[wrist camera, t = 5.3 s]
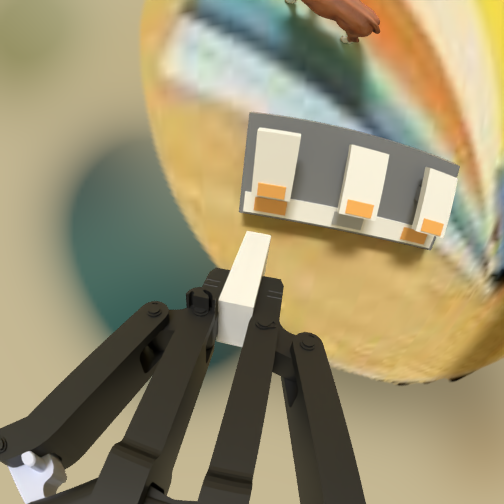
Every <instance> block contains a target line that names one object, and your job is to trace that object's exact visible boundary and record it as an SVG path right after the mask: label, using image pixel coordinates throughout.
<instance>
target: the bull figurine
mask: <svg viewBox="0 0 504 504" xmlns="http://www.w3.org/2000/svg"><path fill="white" fill-rule="evenodd" d="M301 1H302V2H304V3H305V4H306V5H307V6H308V7H309V8H310V9H311V10H312V11H314V12H315V13H316V14H318V15H319V16H321V17H324V18H327V19H331V20H334V21H336V22H337V24H338V25H339V26H340V27H341V28H342V29H343V30H345V31H346V33H347V35H348V37H347V36H342V37H341V38H340V40H341V41H342V42H343V43H348V44H351V43H352V42H359V39H358V37H366V36H368V35H370V34H371V33H372V31H373V32H374V33H376V34H379V33H380V29H379V26H378V25H379V24H380V20H379V18H378V16H377V15H376V14H375V12H374V11H373V10H372V9H371V8H369V7H368V6H366V5H365V4H363V3H362V2H361V1H360V0H301ZM285 2H287V3H291V4H293V3H295V2H296V0H285Z"/></svg>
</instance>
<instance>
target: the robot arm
mask: <svg viewBox="0 0 504 504" xmlns="http://www.w3.org/2000/svg"><path fill="white" fill-rule="evenodd" d="M270 240H271V235H267V234H261V233H256V232H250V231H247V232H246V235H245V237H244V239H243V242H242V244H241V247H240V249H239V251H238V254H237V256H236V259H235V261H234V263H233V266H232V268H231V271H230V270H225V269H220V268H215V269H213V270H212V271H211V272H210V273H209V274H208V276H207V278H206V280H205V282H204V284H203V286H202V287H197V288H193V289H191V290H189V291H188V292H187V293H186V302H187V308H185V309H180V310H169V309H168V307H167V305H165V304H164V303H162V302H158V301H152V302H148V303H146V304H145V305H143V306H142V307H141V308H140V309H139V310H138V311H137V312H136V313H134V314H133V315H132V316H131V317H130V318H129V319H128V320H127V321H126V322H125V323H123V324H122V325H121V326H120V327H119V328H118V329H117V330H116V331H115V332H114V333H113V334H112V335H110V336H109V337H108V338H107V339H106V340H105V341H104V342H103V343H102V344H101V345H100V346H99V347H98V348H97V349H95V350H94V351H93V352H92V353H91V354H90V355H89V356H88V357H87V358H86V359H85V360H84V361H83V362H82V363H81V364H80V365H79V366H78V367H77V368H76V369H75V370H74V371H72V372H71V373H70V375H68V376H67V377H66V378H65V379H64V380H63V381H62V382H61V383H60V384H59V385H58V386H57V387H56V388H55V389H54V390H53V391H52V392H51V393H50V394H49V395H48V396H47V397H46V398H45V399H44V400H43V401H42V402H41V403H40V404H39V405H38V406H37V407H36V408H35V409H34V410H33V411H32V412H31V413H30V414H29V416H27V417H26V418H23V419H21V420H19V421H16V422H14V423H12V424H10V425H7V426H5V427H3V428H0V462H2V463H4V464H5V465H7V466H8V468H9V470H10V472H11V475H12V477H13V479H14V481H15V484H16V486H17V488H18V490H19V492H20V494H21V496H22V498H23V500H24V502H25V504H249V500H250V495H251V490H252V479H253V474H254V468H255V464H256V459H257V454H258V449H259V444H260V439H261V434H262V427H263V423H264V417H265V412H266V406H267V400H268V394H269V388H270V382H271V376H272V372H274V373H276V374H278V375H280V376H281V381H282V387H283V393H284V399H285V406H286V412H287V419H288V425H289V431H290V438H291V444H292V451H293V457H294V464H295V471H296V476H297V483H298V491H299V497H300V504H366V502H365V498H364V494H363V489H362V485H361V480H360V476H359V472H358V468H357V464H356V460H355V456H354V452H353V448H352V444H351V440H350V436H349V433H348V429H347V425H346V422H345V418H344V414H343V410H342V407H341V403H340V400H339V396H338V393H337V389H336V386H335V382H334V379H333V376H332V372H331V369H330V365H329V362H328V359H327V356H326V352H325V349H324V346H323V343H322V341H321V339H320V338H319V337H318V336H316V335H314V334H312V333H308V332H303V333H299V334H297V335H294V334H291V333H289V332H288V331H286V330H285V329H284V328H283V327H282V326H281V324H280V322H279V317H280V310H281V302H282V295H283V287H284V286H283V284H282V281H281V279H276V278H270V277H265V276H264V274H265V270H266V264H267V258H268V252H269V246H270ZM216 337H217V341H218V342H222V343H227V344H231V345H235V346H240V347H242V350H241V354H240V358H239V362H238V365H237V369H236V372H235V376H234V380H233V384H232V387H231V391H230V395H229V398H228V402H227V405H226V409H225V413H224V417H223V420H222V424H221V427H220V431H219V434H218V438H217V441H216V445H215V448H214V452H213V455H212V459H211V462H210V466H209V469H208V472H207V474H206V476H205V479H204V482H203V485H202V488H201V491H200V495H199V498H198V501H182V500H174V499H171V498H169V497H167V493H168V490H169V487H170V484H171V479H172V470H173V467H174V464H175V462H176V459H177V456H178V453H179V450H180V447H181V444H182V441H183V438H184V435H185V432H186V429H187V427H188V423H189V421H190V418H191V415H192V412H193V409H194V406H195V403H196V400H197V397H198V395H199V392H200V389H201V386H202V383H203V380H204V377H205V374H206V371H207V369H208V366H209V363H210V360H211V357H212V354H213V351H214V343H215V340H216ZM152 375H153V376H152ZM151 376H152V378H151ZM150 378H151V380H150V382H149V384H148V386H147V389H146V391H145V393H144V395H143V397H142V399H141V401H140V403H139V405H138V408H137V410H136V412H135V414H134V416H133V418H132V420H131V423H130V425H129V427H128V429H127V431H126V434H125V436H124V438H123V439H122V441H121V442H118V443H116V444H115V445H114V446H113V447H112V449H111V451H110V452H109V455H108V457H107V459H106V461H105V464H104V466H103V468H102V470H101V473H100V475H99V477H98V478H96V479H93V480H91V481H89V482H86V483H84V484H81V485H79V486H76V487H74V488H71V489H69V490H66V491H63V492H60V493H58V494H56V491H57V488H58V487H59V486H60V485H61V484H62V483H64V482H66V480H67V476H66V473H65V469H66V468H68V467H70V466H71V465H73V464H74V463H75V462H77V461H78V460H79V459H80V458H81V457H82V456H83V455H84V454H85V453H86V452H87V450H88V449H89V448H90V447H91V446H92V445H93V444H94V442H95V441H96V440H97V439H98V438H99V437H100V435H101V434H102V433H103V432H104V431H105V430H106V429H107V427H108V426H109V425H110V424H111V423H112V422H113V420H114V419H115V418H116V417H117V416H118V415H119V413H120V412H121V411H122V410H123V409H124V408H125V406H126V405H127V404H128V403H129V402H130V401H131V400H132V398H133V397H134V396H135V395H136V394H137V393H138V391H139V390H140V389H141V388H142V387H143V386H144V384H145V383H146V382H147V381H148V380H149V379H150Z"/></svg>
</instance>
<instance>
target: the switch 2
mask: <svg viewBox="0 0 504 504" xmlns="http://www.w3.org/2000/svg"><path fill="white" fill-rule="evenodd" d="M457 181H458V178H456V177H453V176H451V175H448V174H445V173H443V172H440V171H437V170H435V169H432V168H428V167H425V172H424V177H423V182H422V187H421V192H420V196H419V201H418V205H417V209H416V213H415V217H414V221H413V224H412V229H414V230H415V231H417V232H421V233H425V234H429V235H433V236H436V237H440V238H444V234H445V231H446V227H447V224H448V220H449V216H450V212H451V208H452V204H453V200H454V195H455V191H456V186H457Z"/></svg>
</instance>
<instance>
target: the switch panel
mask: <svg viewBox="0 0 504 504" xmlns="http://www.w3.org/2000/svg"><path fill="white" fill-rule="evenodd" d="M259 127H261V128H268V129H275V130H282V131H288V132H294V133H300V134H301V140H300V146H299V152H298V158H297V164H296V169H295V175H294V181H293V187H292V192H291V198H290V202H288V201H283V200H277V199H271V198H265V197H259V196H253V195H251V192H252V181H253V171H254V160H255V150H256V140H257V130H258V129H259ZM349 145H356V146H360V147H364V148H368V149H371V150H375V151H379V152H382V153H386V154H389V160H388V165H387V171H386V176H385V181H384V186H383V191H382V195H381V200H380V204H379V209H378V213H377V217H376V221H372V220H367V219H363V218H358V217H354V216H349V215H344V214H339V213H338V211H337V209H338V204H339V199H340V194H341V189H342V184H343V179H344V173H345V168H346V162H347V157H348V151H349ZM425 167H428V168H432V169H435V170H437V171H440V172H443V173H445V174H448V175H451V176H453V177H456V178H457V175H458V171H459V168H460V166H458V165H456V164H454V163H453V162H450V161H448V160H445V159H443V158H440V157H438V156H435V155H432V154H430V153H427V152H424V151H422V150H419V149H416V148H413V147H410V146H407V145H404V144H401V143H398V142H395V141H392V140H388V139H385V138H382V137H378V136H375V135H371V134H367V133H364V132H360V131H356V130H352V129H348V128H343V127H339V126H335V125H330V124H325V123H321V122H316V121H310V120H305V119H299V118H293V117H287V116H281V115H274V114H266V113H258V112H250V114H249V123H248V131H247V140H246V149H245V159H244V168H243V177H242V187H241V197H240V207H239V212H241V213H247V214H253V215H259V216H265V217H270V218H276V219H282V220H287V221H293V222H298V223H304V224H309V225H314V226H320V227H325V228H330V229H335V230H340V231H345V232H350V233H355V234H360V235H364V236H369V237H374V238H379V239H383V240H388V241H392V242H397V243H401V244H406V245H410V246H414V247H419V248H423V249H427V250H431V249H432V246H433V244H434V241H435V239H436V236H433V235H429V234H425V233H421V232H417V231H415V230H414V229H412V224H413V221H414V217H415V213H416V209H417V205H418V201H419V196H420V192H421V187H422V182H423V177H424V172H425Z"/></svg>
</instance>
